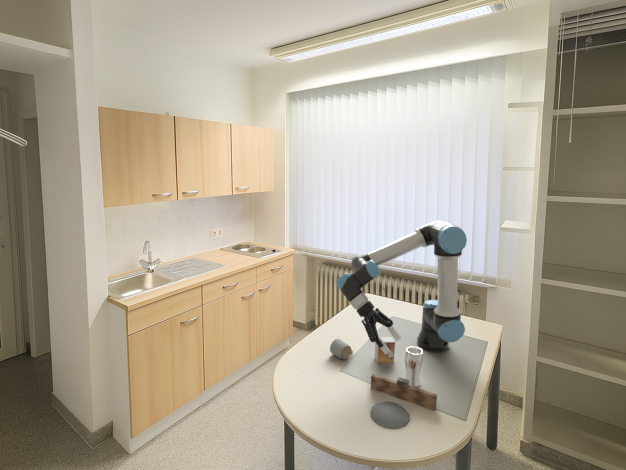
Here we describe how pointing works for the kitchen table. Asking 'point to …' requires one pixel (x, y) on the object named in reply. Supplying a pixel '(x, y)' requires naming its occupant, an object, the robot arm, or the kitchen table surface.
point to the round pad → (389, 414)
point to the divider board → (404, 391)
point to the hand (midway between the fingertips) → (393, 345)
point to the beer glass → (413, 365)
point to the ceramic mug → (340, 349)
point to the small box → (380, 354)
